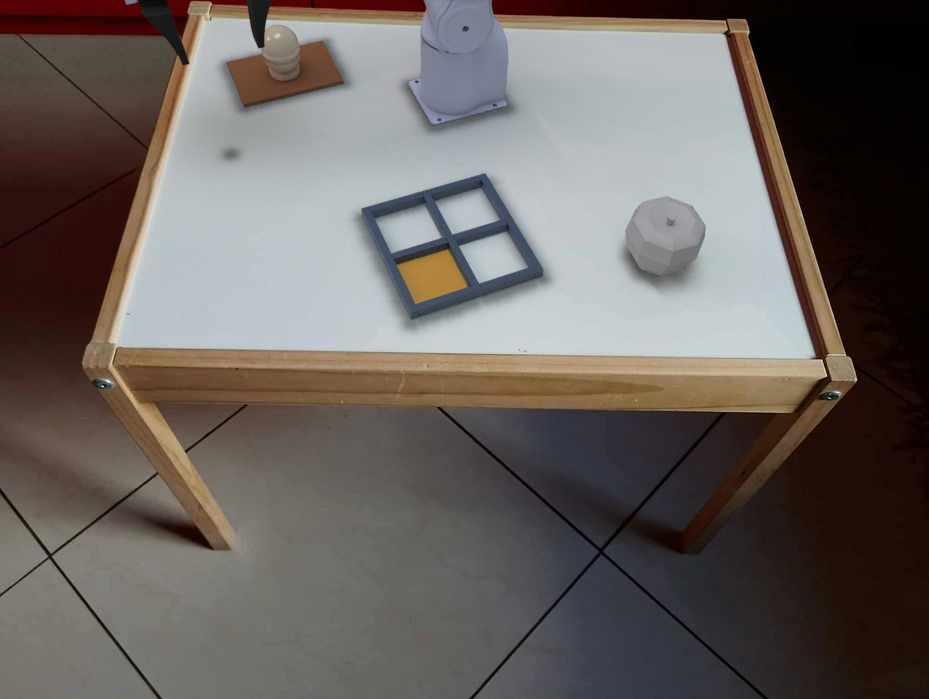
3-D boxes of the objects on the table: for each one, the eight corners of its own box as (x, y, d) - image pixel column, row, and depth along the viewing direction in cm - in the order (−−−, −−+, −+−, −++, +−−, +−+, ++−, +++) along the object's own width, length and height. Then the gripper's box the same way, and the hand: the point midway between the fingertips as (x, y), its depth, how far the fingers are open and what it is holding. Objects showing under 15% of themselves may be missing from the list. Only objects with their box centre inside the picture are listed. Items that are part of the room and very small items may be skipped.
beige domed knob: (298, 56, 91) (291, 13, 86) (307, 79, 89) (300, 36, 84) (262, 63, 90) (252, 20, 85) (270, 86, 88) (261, 44, 83)
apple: (614, 227, 79) (628, 183, 74) (688, 233, 79) (708, 189, 74) (618, 288, 75) (633, 246, 69) (696, 294, 75) (718, 252, 69)
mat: (323, 43, 93) (322, 40, 93) (343, 83, 89) (343, 80, 89) (227, 64, 90) (226, 61, 90) (244, 107, 86) (243, 104, 86)
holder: (484, 184, 82) (485, 172, 80) (541, 279, 75) (543, 269, 74) (362, 219, 78) (361, 208, 77) (410, 322, 72) (410, 312, 70)
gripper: (106, -45, 61) (157, 91, 73) (280, -77, 65) (302, 58, 76) (92, -90, 65) (143, 47, 76) (258, -118, 68) (282, 17, 80)
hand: (222, 50), depth 76 cm, fingers open, 7 cm apart
